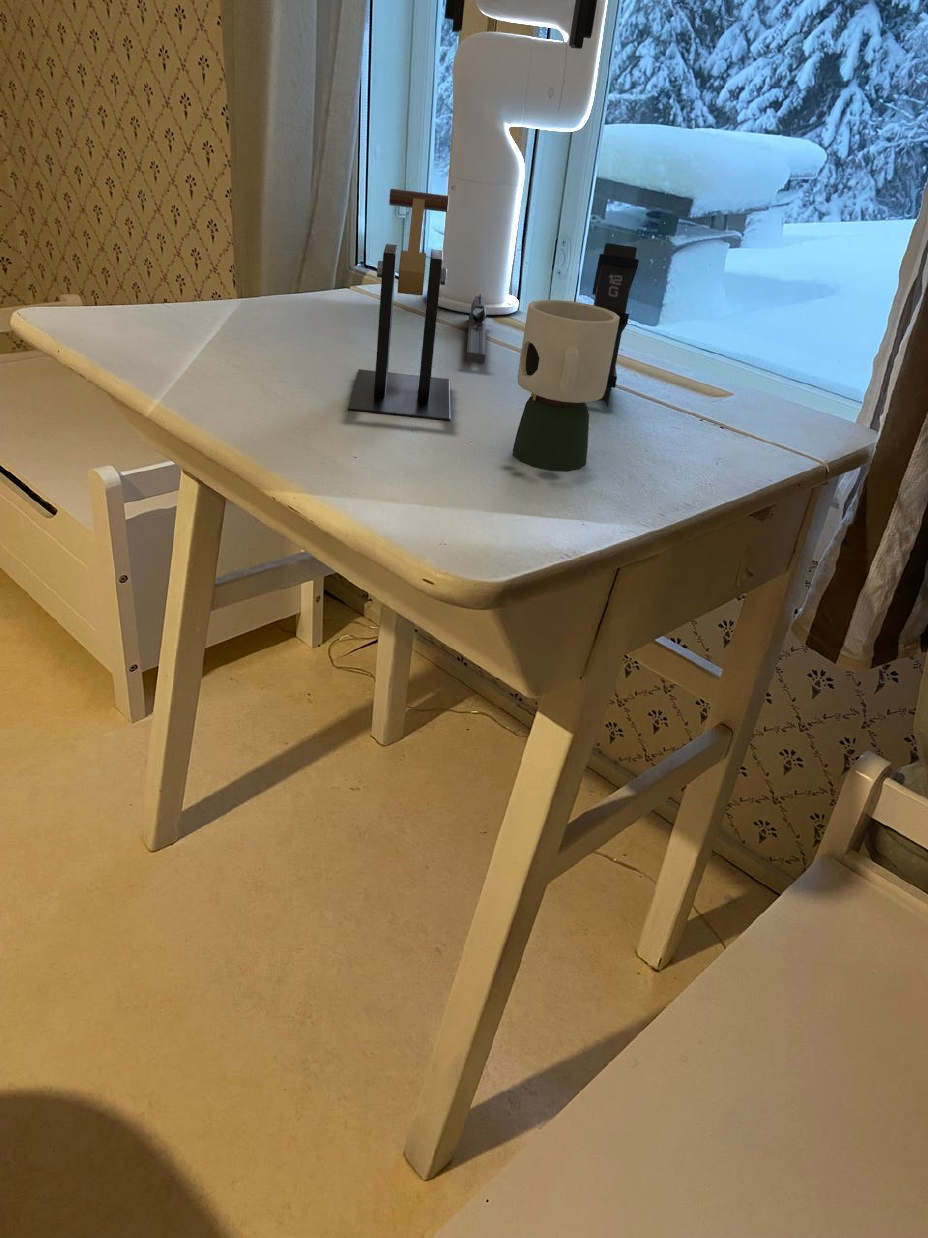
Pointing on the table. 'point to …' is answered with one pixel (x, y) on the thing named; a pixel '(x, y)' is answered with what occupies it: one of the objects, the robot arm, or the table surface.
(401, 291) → the switch lever
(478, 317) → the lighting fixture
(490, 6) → the robot arm
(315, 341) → the table surface
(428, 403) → the stand
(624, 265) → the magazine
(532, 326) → the character mug
